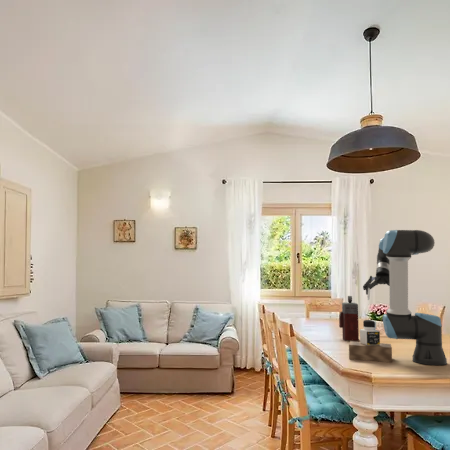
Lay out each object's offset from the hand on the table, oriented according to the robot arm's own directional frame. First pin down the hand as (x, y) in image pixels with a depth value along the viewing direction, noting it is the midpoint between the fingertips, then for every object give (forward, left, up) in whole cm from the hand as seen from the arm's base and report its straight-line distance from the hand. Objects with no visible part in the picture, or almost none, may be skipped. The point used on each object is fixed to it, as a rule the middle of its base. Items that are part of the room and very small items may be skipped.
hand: (381, 298), depth 236 cm
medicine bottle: (-12, +16, -22) cm, 30 cm away
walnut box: (-12, +16, -29) cm, 35 cm away
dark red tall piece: (+46, -7, -29) cm, 55 cm away
